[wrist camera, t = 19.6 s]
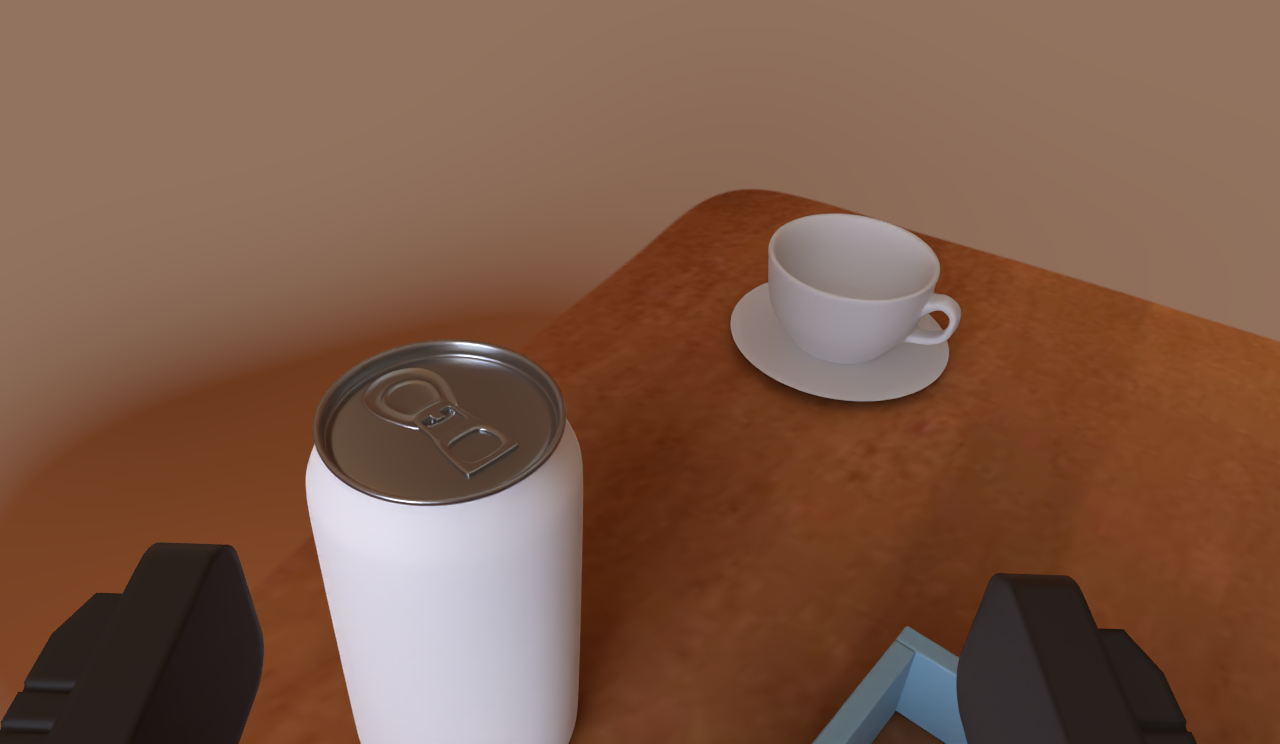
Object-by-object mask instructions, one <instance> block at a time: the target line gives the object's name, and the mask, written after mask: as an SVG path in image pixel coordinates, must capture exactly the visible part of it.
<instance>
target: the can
mask: <svg viewBox="0 0 1280 744" xmlns="http://www.w3.org/2000/svg"><path fill="white" fill-rule="evenodd" d="M313 437H314V442H315V444H314V447H313V450H312V452H311V455H310V458H309V462H308V466H307V471H306V494H307V495H306V496H307V502H308V508H309V514H310V520H311V525H312V529H313V534H314V539H315V544H316V549H317V553H318V558H319V562H320V567H321V572H322V576H323V581H324V585H325V590H326V595H327V599H328V604H329V608H330V613H331V617H332V622H333V626H334V631H335V635H336V640H337V644H338V649H339V653H340V658H341V662H342V667H343V671H344V676H345V680H346V685H347V689H348V693H349V698H350V702H351V706H352V711H353V715H354V719H355V723H356V728H357V732H358V736H359V739H360V743H361V744H569V741H570V739H571V736H572V733H573V730H574V727H575V722H576V716H577V708H578V689H579V660H580V623H581V581H582V532H583V465H582V457H581V450H580V446H579V443H578V440H577V437H576V435H575V433H574V431H573V429H572V427H571V425H570V423H569V422H568V420H567V419H566V406H565V401H564V398H563V395H562V392H561V390H560V388H559V387H558V385H557V383H556V382H555V381H554V379H553V378H552V377H551V376H550V374H549V373H548V372H547V371H546V370H544V369H543V368H542V367H541V366H540V365H538V364H537V363H536V362H534V361H533V360H531V359H529V358H528V357H526V356H524V355H522V354H520V353H518V352H515V351H513V350H510V349H508V348H505V347H501V346H498V345H494V344H490V343H485V342H479V341H472V340H457V339H445V340H432V341H423V342H417V343H412V344H407V345H403V346H400V347H396V348H393V349H390V350H387V351H384V352H382V353H379V354H377V355H374V356H372V357H370V358H368V359H366V360H364V361H362V362H361V363H359V364H357V365H356V366H354V367H353V368H351V369H350V370H348V371H347V372H346V373H344V374H343V375H342V376H341V377H340V378H339V379H338V380H337V381H336V382H335V383H334V384H333V385H332V386H331V387H330V388H329V390H328V391H327V392H326V393H325V395H324V396H323V398H322V400H321V401H320V403H319V406H318V408H317V410H316V414H315V417H314V423H313Z"/></svg>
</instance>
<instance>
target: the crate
mask: <svg viewBox="0 0 1280 744" xmlns="http://www.w3.org/2000/svg"><path fill="white" fill-rule="evenodd" d="M958 662H959V657H958V656H956V655H954V654H953V653H951V652H949V651H948V650H946V649H944V648H943V647H941V646H940V645H938V644H936V643H935V642H933V641H931V640H930V639H928V638H927V637H925V636H923V635H922V634H920V633H918V632H917V631H915V630H914V629H912V628H910V627H909V626H906V627H905V628H904V629H903V630H902V632H901V633H900V634H899V635H898V637H897V638H896V640H895V641H894V642H893V643H892V644H891V645H890V647H889V648H888V649H887V650H886V652H885V653H884V654H883V655H882V657H881V658H880V659H879V660H878V662H877V663H876V664H875V665H874V667H873V668H872V669H871V670H870V672H869V673H868V674H867V675H866V677H865V678H864V679H863V680H862V682H861V683H860V684H859V685H858V687H857V688H856V689H855V690H854V691H853V693H852V694H851V695H850V696H849V698H848V699H847V700H846V701H845V703H844V704H843V705H842V706H841V708H840V709H839V710H838V711H837V713H836V714H835V715H834V716H833V718H832V719H831V720H830V721H829V723H828V724H827V725H826V726H825V728H824V729H823V730H822V731H821V733H820V734H819V735H818V736H817V738H816V739H815V740H814V741H813V743H812V744H872V742H873V741H874V740H875V738H876V737H877V735H878V734H879V733H880V731H881V730H882V729H883V727H884V726H885V725H886V723H887V722H888V721H889V719H890V718H891V717H892V715H893V714H894V713H895V710H896V711H897V712H899V713H900V714H902V715H903V716H905V717H906V718H908V719H909V720H911V721H912V722H914V723H915V724H917V725H918V726H920V727H921V728H923V729H924V730H926V731H927V732H929V733H930V734H932V735H933V736H935V737H936V738H938V739H939V740H941V741H942V742H944V743H945V744H967V740H966V737H965V733H964V729H963V726H962V722H961V718H960V714H959V709H958V702H957V691H956V677H957V667H958Z"/></svg>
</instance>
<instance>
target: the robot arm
mask: <svg viewBox="0 0 1280 744" xmlns="http://www.w3.org/2000/svg"><path fill="white" fill-rule="evenodd" d="M263 656H264V645H263V635H262V631H261V627H260V624H259V621H258V618H257V615H256V611H255V608H254V605H253V602H252V599H251V595H250V592H249V589H248V586H247V583H246V579H245V576H244V573H243V570H242V567H241V563H240V560H239V557H238V555H237V552H236V551H235V549H234V548H233V547H232V546H230V545H220V544H219V545H217V544H190V543H189V544H188V543H156V544H153V545H152V546H151V547H149V548H148V549H147V551H146V552H145V553H144V555H143V556H142V558H141V560H140V562H139V564H138V565H137V568H136V569H135V571H134V573H133V575H132V577H131V579H130V580H129V582H128V584H127V586H126V588H125V590H124V592H123V594H114V593H96V594H95V595H93V597H91V598H90V599H89V600H88V601H87V602H86V603H85V604H84V605H83V606H82V607H80V609H78V610H77V611H76V612H75V613H74V614H73V615H72V616H71V617H70V618H69V619H68V620H66V621H65V622H64V623H63V624H62V625H61V626H60V627H59V628H58V629H57V630H56V631H55V632H53V634H52V635H51V636H50V638H49V640H48V642H47V643H46V645H45V647H44V648H43V650H42V652H41V654H40V655H39V657H38V659H37V661H36V662H35V664H34V666H33V668H32V669H31V671H30V673H29V675H28V676H27V678H26V680H25V681H24V684H25V686H24V690H23V691H22V692H18V694H17V695H16V697H15V699H14V701H13V702H12V704H11V706H10V708H9V709H8V711H7V713H6V715H5V716H4V718H3V720H2V721H1V730H0V744H239V741H240V738H241V735H242V732H243V730H244V727H245V724H246V721H247V718H248V716H249V713H250V710H251V707H252V705H253V702H254V699H255V696H256V693H257V690H258V687H259V683H260V679H261V673H262V667H263ZM956 691H957V702H958V709H959V714H960V718H961V722H962V726H963V729H964V733H965V737H966V740H967V744H1197V743H1196V741H1195V739H1194V737H1193V735H1192V733H1191V732H1188V731H1187V729H1186V720H1185V718H1184V716H1183V714H1182V711H1181V709H1180V707H1179V705H1178V703H1177V701H1176V699H1175V697H1174V695H1173V692H1172V690H1171V688H1170V686H1169V684H1168V682H1167V680H1166V678H1165V675H1164V673H1163V672H1162V671H1161V670H1160V669H1159V668H1158V667H1157V665H1156V664H1155V663H1154V662H1153V661H1152V660H1151V659H1150V658H1149V657H1148V656H1147V655H1146V654H1145V652H1144V651H1143V650H1142V649H1141V648H1140V647H1139V646H1138V645H1137V644H1136V643H1135V642H1134V641H1133V639H1132V638H1131V637H1130V636H1129V635H1128V634H1127V633H1126V632H1125V631H1124V630H1123V629H1098V628H1097V626H1096V624H1095V621H1094V619H1093V617H1092V614H1091V612H1090V610H1089V607H1088V605H1087V603H1086V600H1085V598H1084V596H1083V593H1082V591H1081V589H1080V587H1079V586H1078V584H1077V583H1076V582H1075V581H1074V580H1073V579H1072V578H1071V577H1069V576H1064V575H1034V574H1004V573H998V574H995V575H994V576H992V578H991V579H990V581H989V583H988V585H987V588H986V590H985V593H984V595H983V598H982V601H981V603H980V606H979V608H978V611H977V613H976V616H975V619H974V621H973V624H972V626H971V629H970V631H969V634H968V637H967V639H966V642H965V644H964V647H963V650H962V652H961V655H960V658H959V662H958V667H957V677H956Z"/></svg>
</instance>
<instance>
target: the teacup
mask: <svg viewBox="0 0 1280 744" xmlns="http://www.w3.org/2000/svg"><path fill="white" fill-rule="evenodd" d="M768 257H769V259H768V283H765V284H763V285H760V286H758V287H756V288H755V289H753V290H752V291H750V292H749V293H747V294H746V295H745V296H744V297H743V298H742V299H741V300H740V301H739V302H738V303H737V305H736V306H735V308H734V311H733V313H732V316H731V332H732V336H733V339H734V341H735V343H736V345H737V346H738V348H739V350H740V351H741V352H742V354H743V355H744V356H745V357H746V358H747V359H748V360H749V361H750V362H751V363H752V364H753V365H754V366H755V367H757V368H758V369H759V370H761V371H762V372H764V373H765V374H766V375H768V376H770V377H771V378H773V379H775V380H777V381H779V382H781V383H783V384H785V385H787V386H790V387H792V388H795V389H797V390H800V391H803V392H806V393H809V394H813V395H817V396H821V397H826V398H831V399H838V400H846V401H881V400H888V399H894V398H899V397H903V396H906V395H909V394H912V393H915V392H917V391H919V390H921V389H923V388H925V387H927V386H928V385H930V384H931V383H932V382H934V381H935V380H936V379H937V378H938V377H939V376H940V375H941V374H942V372H943V370H944V369H945V367H946V365H947V362H948V357H949V347H948V342H947V339H949V338H950V337H951V335H952V334H953V333H954V332H955V330H956V329H957V327H958V325H959V322H960V318H961V309H960V306H959V305H958V303H957V302H956V301H955V300H954V299H952V298H951V297H949V296H947V295H943V294H935V293H934V288H935V286H936V283H937V281H938V278H939V275H940V264H939V261H938V258H937V256H936V255H935V253H934V252H933V250H932V249H931V248H930V247H929V246H928V245H927V244H926V243H925V242H924V241H923V240H921V239H920V238H919V237H917V236H916V235H914V234H912V233H911V232H909V231H907V230H905V229H903V228H901V227H899V226H896V225H894V224H891V223H888V222H885V221H882V220H878V219H874V218H870V217H865V216H859V215H851V214H818V215H811V216H806V217H802V218H799V219H796V220H793V221H791V222H789V223H787V224H785V225H783V226H782V227H780V228H779V229H778V230H777V231H776V232H775V233H774V234H773V236H772V238H771V240H770V243H769V249H768ZM937 310H940V311H943V312H944V313H946V314H947V316H948V317H949V320H950V322H949V325H948V327H947V328H946V329H944V330H942V329H941V327H940V326H939V324H938V323H937V322H936V321H935V319H934V318H933V317H932V316H931V315H930V314H929V313H930V312H933V311H937Z"/></svg>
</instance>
